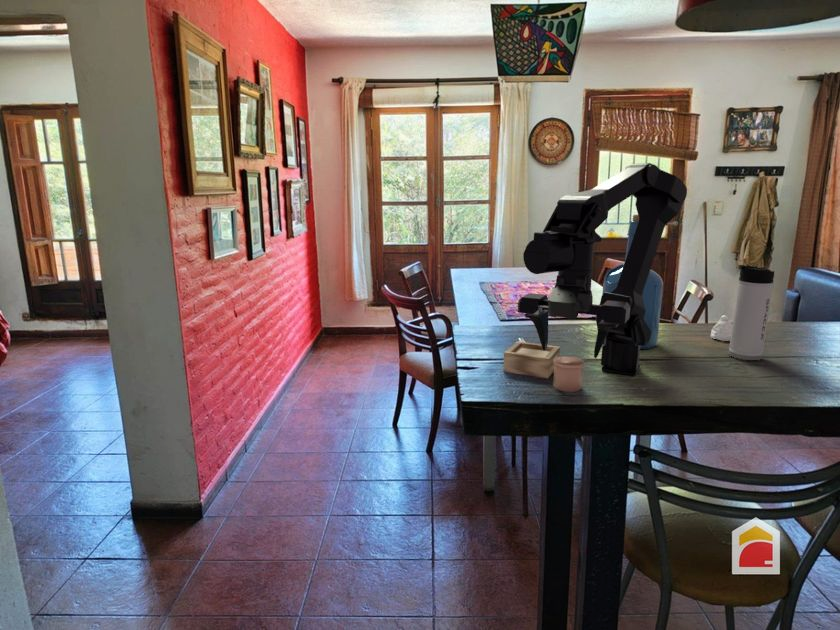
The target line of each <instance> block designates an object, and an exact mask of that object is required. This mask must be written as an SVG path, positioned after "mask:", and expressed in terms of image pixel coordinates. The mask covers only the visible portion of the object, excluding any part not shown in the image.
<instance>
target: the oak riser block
mask: <svg viewBox="0 0 840 630" xmlns="http://www.w3.org/2000/svg"><path fill="white" fill-rule="evenodd" d="M560 355H561V346H559V345H558V346H557V345H551V344H550V345H549V344H547V350H546V351H544V350H543V348H542V345H541V343H536V342H534V343H532V342H527V341H521V340H520V341H516V342H514V344H513V345H511V346H510V347H509V348H508V349H506V350H505V351H504V352H503V367H502V369H503V370H502V371H503V372H505V373H511V374H516V375H517V374H518V375H524V376H530V377H535V378H542V379H549V377H550V378H551V376H552V375H553V374H554V363H553V362H554V359H555V358H557V357H561V356H560Z"/></svg>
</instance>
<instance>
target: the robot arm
mask: <svg viewBox="0 0 840 630" xmlns="http://www.w3.org/2000/svg"><path fill="white" fill-rule="evenodd" d="M687 193H688V188H687V186H686V184H685V183H684V182H683V181H682V179H681V178H680V177H678V176H677V175H674V174H672V173H669V172H667V171H665V170H662V169H661V168H659V167H658V166H657V165H656V164H653V163H651V162H648V163H647V162H644V163H631V164H629V165H627V166H626V167H625V168H624V170H622V171H620V172H618V173H617V174H614V176H612V177H610V178H608V179H606V180H604V181H603V182H602V183H600V184H598V185H597V186H595V187H593V188H591V189H588V190H584V191H579V192H574V193H570V194H566V195H564V196H563V195H562V197H561V198H559V199H558V201H557V203H556V206H555V208H554V210H553V212H552V213H551V215H550V218H549V219H548V221H547V223H546V224H545V226H544V229H542V232H541V231H537V232H534V233H533V239H532V240H530V241H529V242H528V243H527V245H526V247H525V250H524V251H523V254H522V255H523V257H522V258H523V263H524V265H525V267H526V269H527V270H528V271H529V272H530V273H532V274H533V275H540V274H542V275H543V274H548V273H556V272H557V275H556V279H555V285H554V287H553V289H551V292H550V294H549V296H548V295H547V294H544V293H534V292H533V293H532V292H531V293H530V292H529V293H527V294H525V295H523V296H522V297H520V298H519V299H518V302H517V313H520V314H524V317H525V318H526V319H527V318H528V319H530V321H531V322H532V323H533V325H534V327H535V329H536V332H537V335H538V338H539V341H540V344H541V345H542V348H543V350H544V351H546V350H547V345H549V344H548V343H549V317H551V318H558V317H559V318H566V319H568V320H575V319H576V318H578V316H579V314H582V315H591V316H592V315H593V316H595V323H596V324H595V325H596V329H597V334H596V339H595V344H594V351H593V358H595V359H597V358H598V356H599V354H600V352H601V357H600V365H601V371H602V372H606V373H607V372H609V373H614V374H620V375H621V374H622V375H627V376H636V375H637V374H638V372H639V369H640V367H641V364H640V353H641V349H640V346H645V345H646V344H647V343H649V341H650V337H651V334H652V332H651V330H650V329H649V327H648V325H647V324H646V322H645V320H644V316H645V312H646V309H645V305H644V302H643V298H642V293H643V290H644V287H645V284H646V281H647V278H648V275H649V272H650V270H652V269H651V268H652V267H653V262H654V260H655V257H656V255H657V250H658V247H659V245H660V242H661V238H662V235H663V232H664V229H665V227H666V225H668V224H669V223H670V222H671V221H672V220H673V219H674V218H675V217H677V216H678V215H679V213H680V211H681V208H682V206H683V204H684V202H685V201H686V198H687V195H688V194H687ZM632 196H633V197H634V198H635V199H636V200H635V203H634V204H635V209H636V212H637V215H638V216H639V221H638V224H637V227H636V230H635V233H634V236H633V239H632V242H631V245H630V248H629V251H628V254H627V257H626V256H625V258H626V260H624V263H623V264H624V266H623V269H622V272H621V275H620V278H619V281H618V284H617V286H616V288H615V289H614V290H613V291H612V292H610V293H607V292H605V293H604V294H603V295H602V294H601V297H600V302H599V304H594V303H593V293H592V292H593V291H592V290H591V289H592V279H593V264H594V263H593V262H594V247H595V243H600V242H602V241H603V240H602V239H603V238H602V236H600V234H598V233H597V232H596V230H597V228H599V227H600V226H601V225H602V224H603V223H604V222H605V221H606V220H607V219H608V217H609V211H610V210H612V209H613V208H614V207H616V206H617V205H619V204H621V203H622V202H624V201H625V200H627V199H629V198H630V197H632ZM605 338H607V339H606V343H604V341H605Z"/></svg>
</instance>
